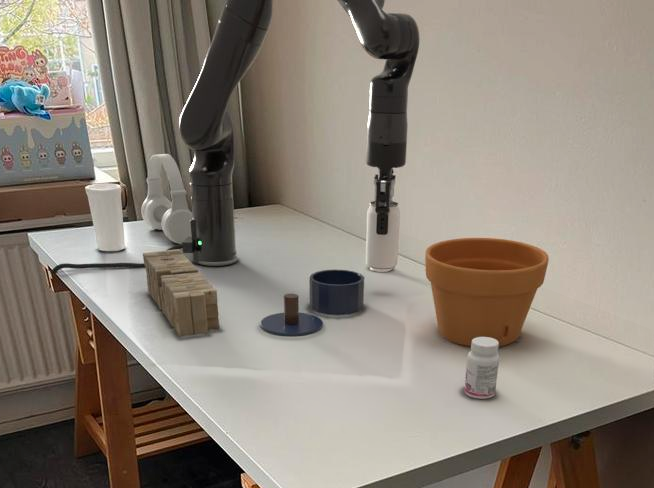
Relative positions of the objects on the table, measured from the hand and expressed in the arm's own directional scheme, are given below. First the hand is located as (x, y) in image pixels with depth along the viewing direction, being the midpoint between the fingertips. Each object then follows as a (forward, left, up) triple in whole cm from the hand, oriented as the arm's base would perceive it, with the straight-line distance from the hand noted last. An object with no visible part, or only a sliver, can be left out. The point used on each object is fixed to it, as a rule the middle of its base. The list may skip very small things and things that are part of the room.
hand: (382, 229), depth 153 cm
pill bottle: (+18, -46, -13) cm, 51 cm away
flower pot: (+19, -20, -13) cm, 31 cm away
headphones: (-56, +40, -13) cm, 70 cm away
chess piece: (-1, +19, -13) cm, 23 cm away
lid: (-15, -22, -13) cm, 30 cm away
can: (0, 0, -7) cm, 7 cm away
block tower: (-37, -16, -13) cm, 43 cm away
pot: (-8, -10, -13) cm, 18 cm away
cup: (-66, +25, -13) cm, 72 cm away
